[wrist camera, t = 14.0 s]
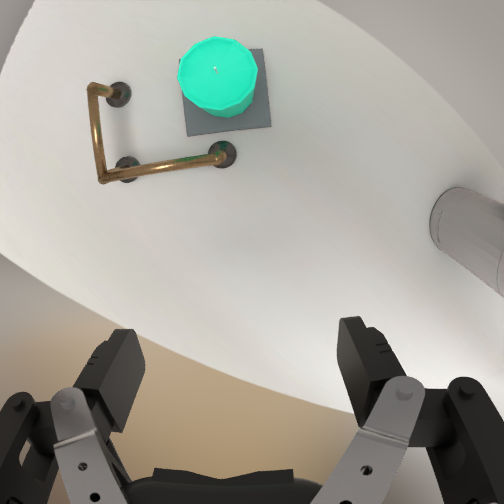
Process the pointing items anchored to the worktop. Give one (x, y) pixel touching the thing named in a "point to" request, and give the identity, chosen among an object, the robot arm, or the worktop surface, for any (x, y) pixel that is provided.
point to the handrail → (129, 167)
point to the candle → (218, 76)
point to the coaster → (250, 118)
